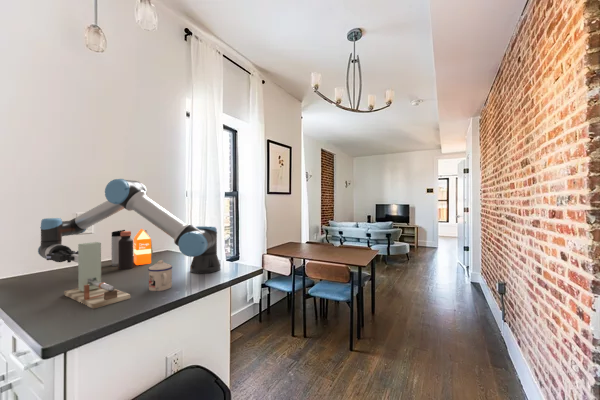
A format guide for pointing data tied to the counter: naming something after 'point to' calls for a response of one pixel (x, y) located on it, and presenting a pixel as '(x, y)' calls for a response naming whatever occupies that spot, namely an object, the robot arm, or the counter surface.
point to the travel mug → (115, 247)
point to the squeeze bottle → (151, 243)
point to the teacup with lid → (160, 276)
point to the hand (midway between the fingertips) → (79, 259)
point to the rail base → (96, 296)
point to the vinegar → (125, 251)
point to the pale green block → (89, 264)
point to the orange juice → (142, 248)
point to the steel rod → (101, 285)
